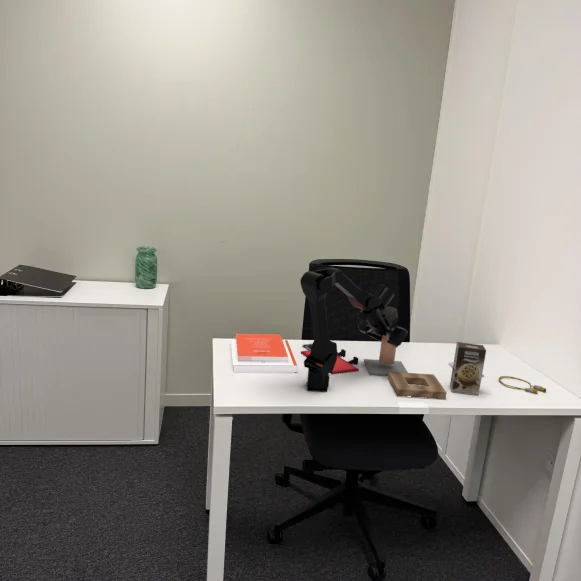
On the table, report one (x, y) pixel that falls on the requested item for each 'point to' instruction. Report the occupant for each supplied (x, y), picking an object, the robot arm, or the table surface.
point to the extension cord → (530, 390)
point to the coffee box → (467, 368)
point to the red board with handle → (337, 362)
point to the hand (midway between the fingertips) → (391, 344)
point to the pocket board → (429, 381)
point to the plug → (387, 351)
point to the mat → (383, 367)
